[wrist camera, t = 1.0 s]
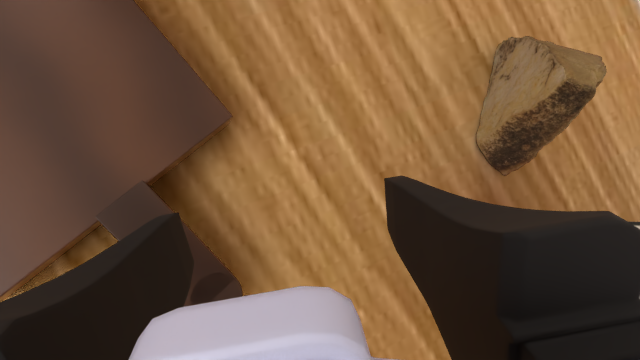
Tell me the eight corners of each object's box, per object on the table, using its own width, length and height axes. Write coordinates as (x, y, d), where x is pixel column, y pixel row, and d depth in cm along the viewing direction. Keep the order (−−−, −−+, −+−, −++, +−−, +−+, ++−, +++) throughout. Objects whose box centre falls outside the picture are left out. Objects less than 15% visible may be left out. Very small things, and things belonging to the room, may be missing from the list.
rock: (504, -2, 30) (454, 67, 26) (636, -4, 25) (601, 81, 21) (498, 103, 38) (458, 170, 33) (598, 118, 33) (566, 199, 28)
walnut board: (123, 405, 20) (114, 436, 18) (-368, -33, 15) (-490, -88, 13) (311, 220, 25) (327, 221, 22) (-17, -160, 20) (-49, -220, 17)
